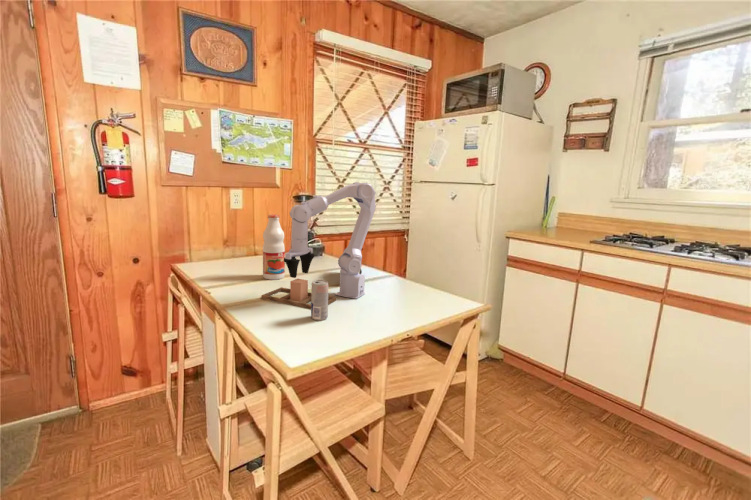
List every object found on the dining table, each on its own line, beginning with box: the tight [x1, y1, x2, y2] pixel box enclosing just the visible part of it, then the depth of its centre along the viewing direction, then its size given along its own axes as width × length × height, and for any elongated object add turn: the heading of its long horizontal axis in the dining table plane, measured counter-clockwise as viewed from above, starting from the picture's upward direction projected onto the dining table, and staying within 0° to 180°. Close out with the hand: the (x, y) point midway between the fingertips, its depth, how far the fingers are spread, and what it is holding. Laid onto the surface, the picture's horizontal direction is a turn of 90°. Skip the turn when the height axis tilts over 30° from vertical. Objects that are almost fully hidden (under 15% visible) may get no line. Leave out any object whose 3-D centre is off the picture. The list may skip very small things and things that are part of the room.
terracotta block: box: [289, 278, 309, 301], centre depth 135 cm, size 4×4×7 cm
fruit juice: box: [262, 214, 286, 281], centre depth 161 cm, size 9×9×28 cm
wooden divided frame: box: [260, 286, 337, 309], centre depth 135 cm, size 25×12×1 cm, turn 67°
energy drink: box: [310, 279, 329, 322], centre depth 117 cm, size 5×5×12 cm
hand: (299, 275), depth 134 cm, fingers open, 7 cm apart
